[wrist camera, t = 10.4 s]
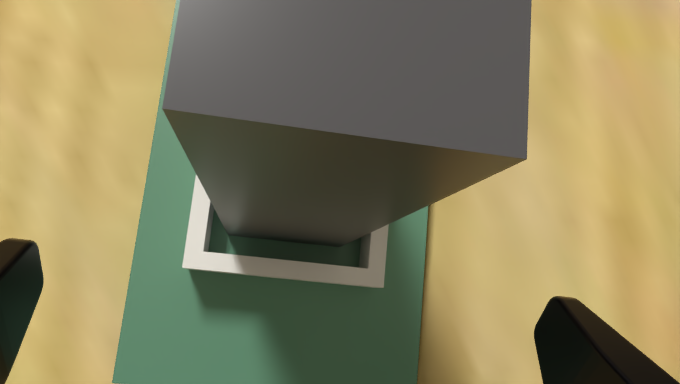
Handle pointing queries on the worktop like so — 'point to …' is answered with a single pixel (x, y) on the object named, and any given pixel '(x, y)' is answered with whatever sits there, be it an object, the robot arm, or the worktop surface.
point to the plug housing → (345, 108)
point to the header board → (262, 293)
